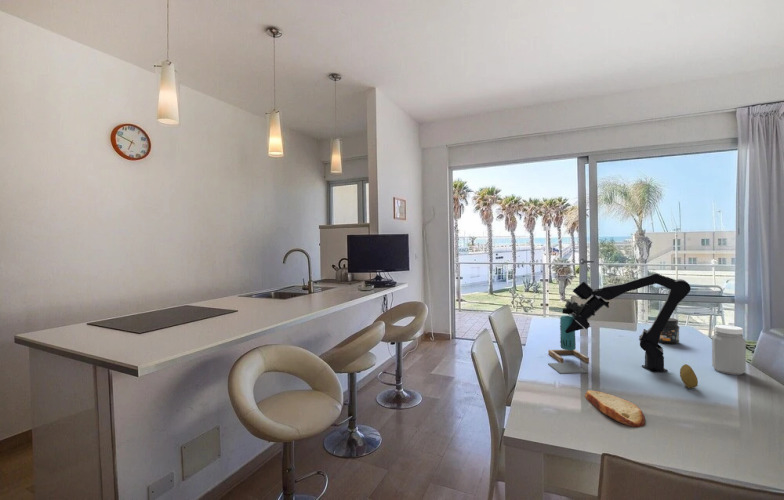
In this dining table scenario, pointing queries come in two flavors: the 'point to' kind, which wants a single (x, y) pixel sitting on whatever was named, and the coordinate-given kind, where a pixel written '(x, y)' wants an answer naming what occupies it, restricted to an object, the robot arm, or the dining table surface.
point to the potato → (688, 376)
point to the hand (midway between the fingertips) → (564, 330)
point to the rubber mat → (566, 368)
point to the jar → (729, 350)
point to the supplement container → (670, 332)
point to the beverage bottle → (566, 338)
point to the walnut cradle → (556, 353)
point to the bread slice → (617, 408)
